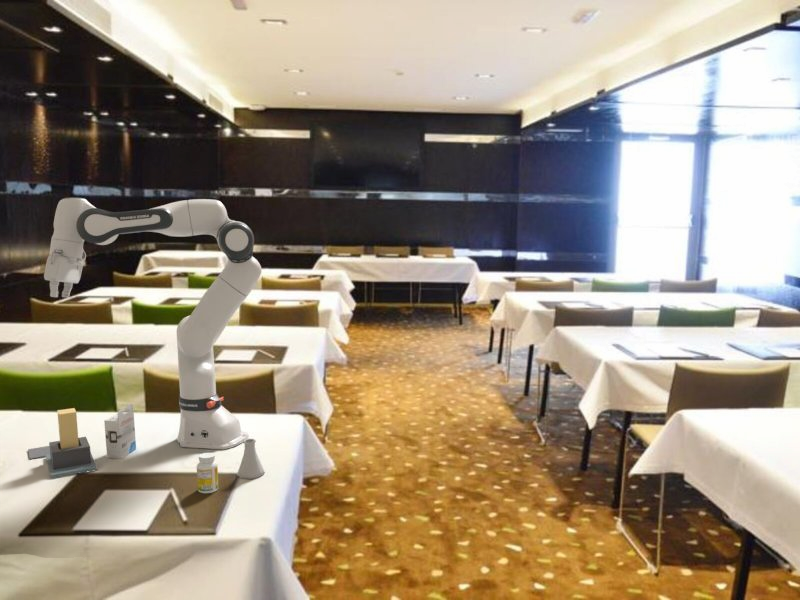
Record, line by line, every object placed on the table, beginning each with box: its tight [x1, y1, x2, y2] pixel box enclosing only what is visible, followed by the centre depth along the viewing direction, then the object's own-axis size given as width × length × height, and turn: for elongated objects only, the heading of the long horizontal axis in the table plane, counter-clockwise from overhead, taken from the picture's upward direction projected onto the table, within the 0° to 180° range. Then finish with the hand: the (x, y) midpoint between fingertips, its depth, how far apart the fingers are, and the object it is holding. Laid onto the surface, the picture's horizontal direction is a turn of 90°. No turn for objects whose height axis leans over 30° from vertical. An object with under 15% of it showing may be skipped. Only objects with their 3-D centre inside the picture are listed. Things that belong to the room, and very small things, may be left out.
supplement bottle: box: [196, 452, 219, 494], centre depth 199 cm, size 5×5×10 cm
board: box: [45, 453, 98, 479], centre depth 220 cm, size 18×12×1 cm, turn 29°
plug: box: [56, 407, 79, 449], centre depth 218 cm, size 5×5×14 cm
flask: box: [236, 438, 266, 480], centre depth 210 cm, size 7×7×10 cm
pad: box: [27, 445, 50, 460], centre depth 230 cm, size 9×9×1 cm
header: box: [48, 436, 92, 470], centre depth 219 cm, size 10×10×5 cm
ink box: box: [104, 403, 137, 460], centre depth 227 cm, size 9×5×15 cm, turn 168°
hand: (59, 297), depth 223 cm, fingers open, 8 cm apart
